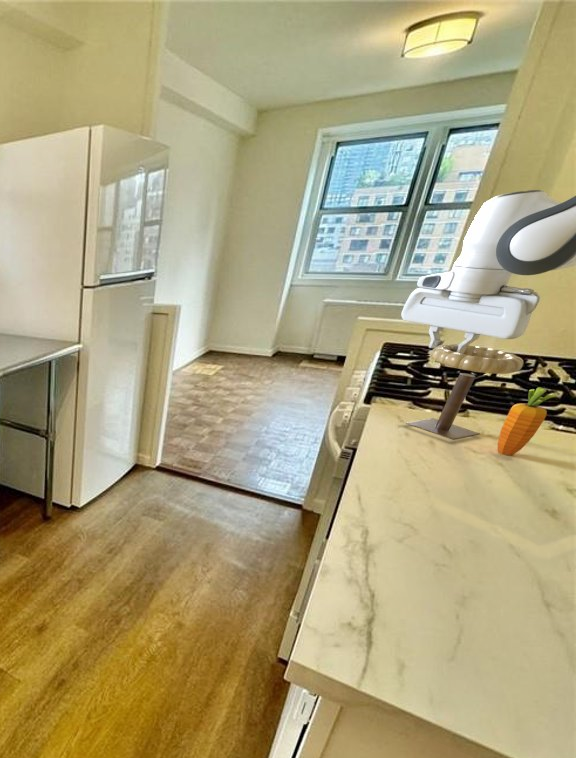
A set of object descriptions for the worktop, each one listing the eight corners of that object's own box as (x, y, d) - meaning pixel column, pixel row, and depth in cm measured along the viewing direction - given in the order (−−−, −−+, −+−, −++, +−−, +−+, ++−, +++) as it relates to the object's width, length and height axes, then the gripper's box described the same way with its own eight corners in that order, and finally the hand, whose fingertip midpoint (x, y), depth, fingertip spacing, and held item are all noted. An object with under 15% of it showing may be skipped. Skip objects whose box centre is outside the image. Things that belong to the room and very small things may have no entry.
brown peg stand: (476, 439, 103) (508, 379, 97) (449, 445, 101) (480, 383, 95) (429, 423, 111) (456, 367, 105) (403, 428, 108) (428, 370, 102)
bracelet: (534, 371, 95) (542, 358, 94) (491, 378, 91) (499, 364, 90) (454, 353, 107) (460, 341, 105) (413, 358, 103) (419, 345, 101)
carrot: (494, 452, 98) (532, 381, 91) (525, 463, 94) (568, 390, 87) (478, 455, 97) (516, 384, 90) (509, 467, 92) (551, 393, 86)
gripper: (554, 289, 89) (516, 362, 95) (430, 276, 106) (404, 338, 112) (534, 291, 87) (496, 365, 93) (410, 276, 104) (385, 340, 110)
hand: (445, 350), depth 103 cm, fingers closed on bracelet, 3 cm apart
